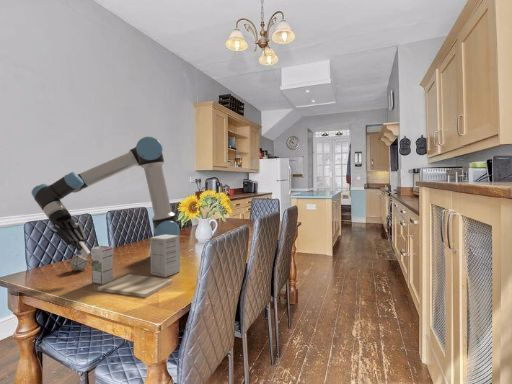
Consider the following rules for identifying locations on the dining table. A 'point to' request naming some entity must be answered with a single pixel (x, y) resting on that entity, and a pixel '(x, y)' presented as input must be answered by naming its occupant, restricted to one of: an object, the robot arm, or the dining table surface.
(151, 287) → the cutting board
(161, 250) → the supplement box
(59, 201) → the robot arm
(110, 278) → the syrup box
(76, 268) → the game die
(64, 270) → the dining table surface
